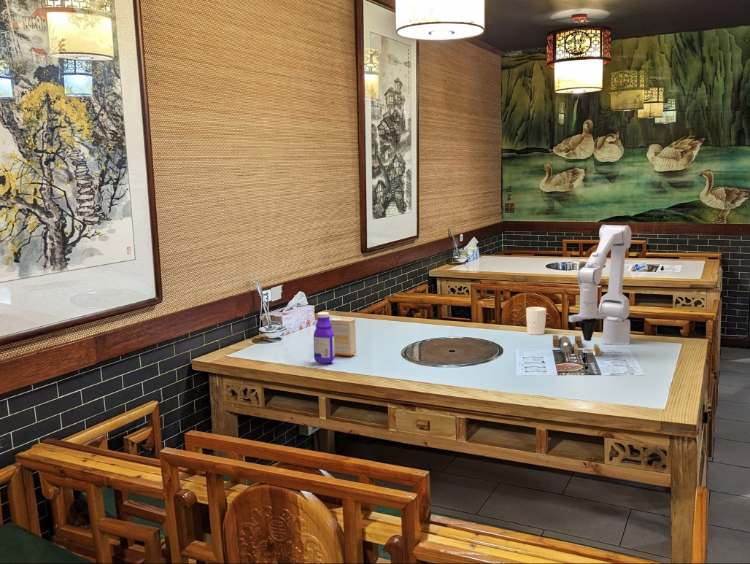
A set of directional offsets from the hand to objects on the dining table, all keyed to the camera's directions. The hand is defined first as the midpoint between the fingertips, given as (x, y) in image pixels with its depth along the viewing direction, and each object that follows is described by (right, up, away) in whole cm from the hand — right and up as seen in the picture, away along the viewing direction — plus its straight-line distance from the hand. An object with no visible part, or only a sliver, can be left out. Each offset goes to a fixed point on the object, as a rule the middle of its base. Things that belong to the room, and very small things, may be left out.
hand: (587, 340), depth 234 cm
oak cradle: (+1, -5, +4) cm, 7 cm away
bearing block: (-3, -4, +15) cm, 16 cm away
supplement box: (-85, -6, +13) cm, 86 cm away
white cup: (-9, 0, +37) cm, 38 cm away
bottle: (-92, -8, +3) cm, 92 cm away
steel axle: (-4, -5, +10) cm, 11 cm away
